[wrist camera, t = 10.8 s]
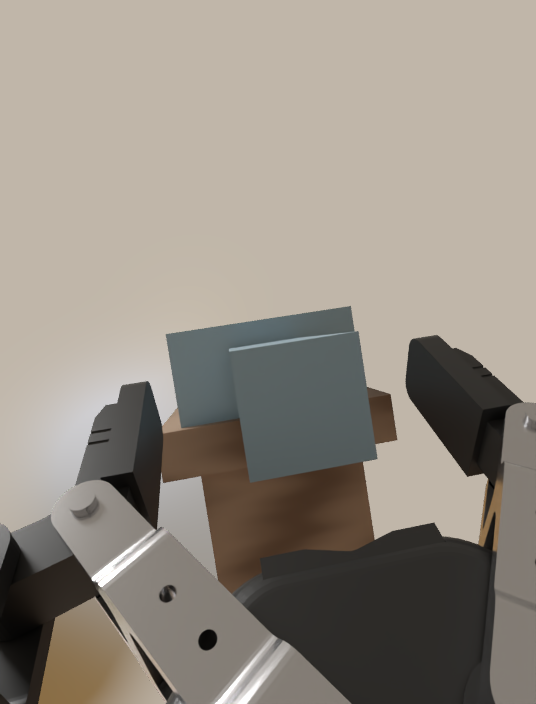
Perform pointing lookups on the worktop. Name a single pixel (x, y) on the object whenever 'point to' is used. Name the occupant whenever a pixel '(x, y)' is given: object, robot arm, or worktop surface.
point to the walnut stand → (271, 496)
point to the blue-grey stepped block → (279, 389)
